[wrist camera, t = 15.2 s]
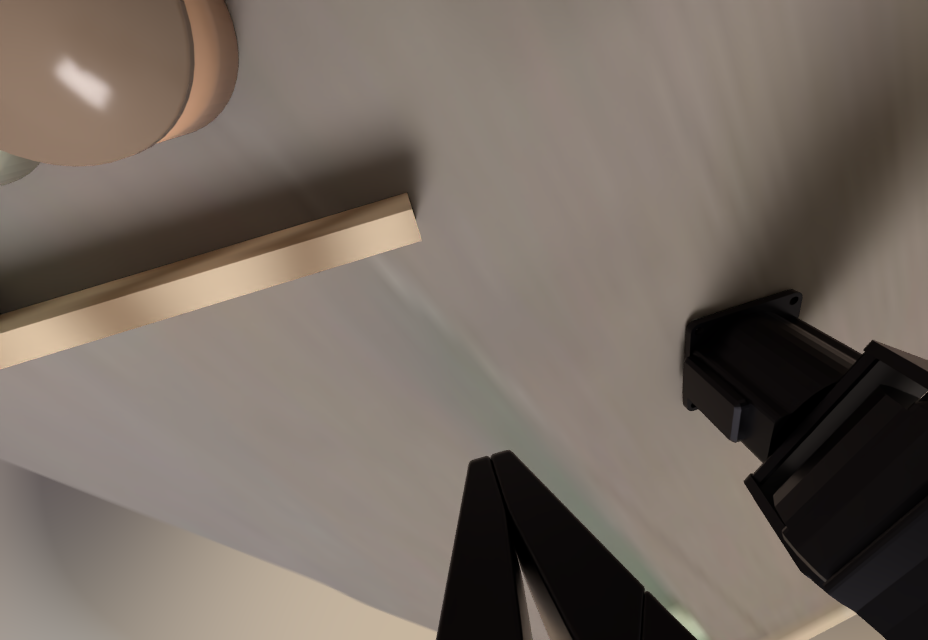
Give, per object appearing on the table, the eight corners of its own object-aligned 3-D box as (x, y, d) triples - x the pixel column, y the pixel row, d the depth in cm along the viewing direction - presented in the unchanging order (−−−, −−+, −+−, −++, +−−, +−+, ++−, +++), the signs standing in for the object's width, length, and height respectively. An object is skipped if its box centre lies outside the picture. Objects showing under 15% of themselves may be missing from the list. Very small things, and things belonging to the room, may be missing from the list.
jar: (175, -129, 12) (61, -249, 7) (274, 115, 15) (236, 130, 11) (-58, -78, 11) (-316, -172, 7) (96, 160, 15) (-17, 195, 10)
